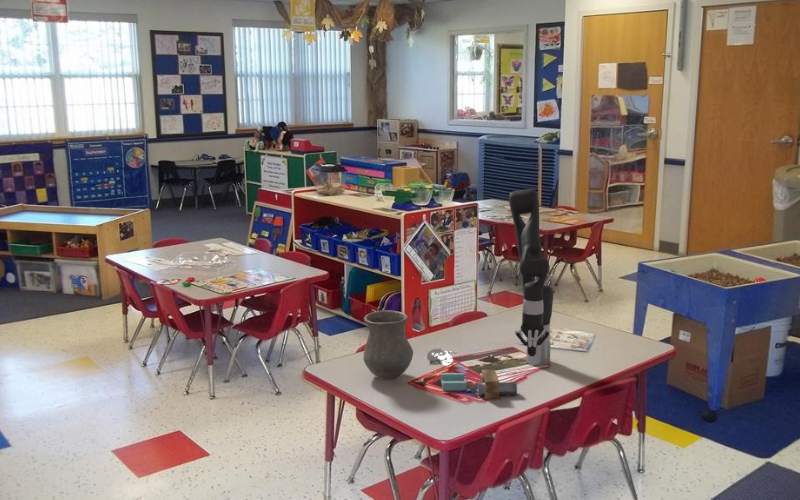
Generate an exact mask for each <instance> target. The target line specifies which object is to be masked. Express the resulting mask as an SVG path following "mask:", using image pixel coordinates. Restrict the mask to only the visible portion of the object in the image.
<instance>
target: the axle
mask: <svg viewBox="0 0 800 500" xmlns="http://www.w3.org/2000/svg"><path fill="white" fill-rule="evenodd" d="M477 394H478V396H479V397H480V396H482V397H485V383H481V382H478V383H477ZM517 395H518V386H517V382H516V381H511V382H510V381H507V382H506V381H504V382H503V381H502V382H501V381H499V396H517Z"/></svg>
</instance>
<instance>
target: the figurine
mask: <svg viewBox="0 0 800 500" xmlns="http://www.w3.org/2000/svg"><path fill="white" fill-rule="evenodd" d="M457 353H458V352H455V351H453V350H452V351H451V350H449V351H447V350H445V351H443V350H442V348H441V347H438V348H432V349H430V350H429V351H428V352H427V356H426V358H427V361H428V362H434V361H440V362H439V363H440V365H443V366H449V365H450V364H452V363H453V356H452V355H451V354H453V355H456V354H457Z"/></svg>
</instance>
